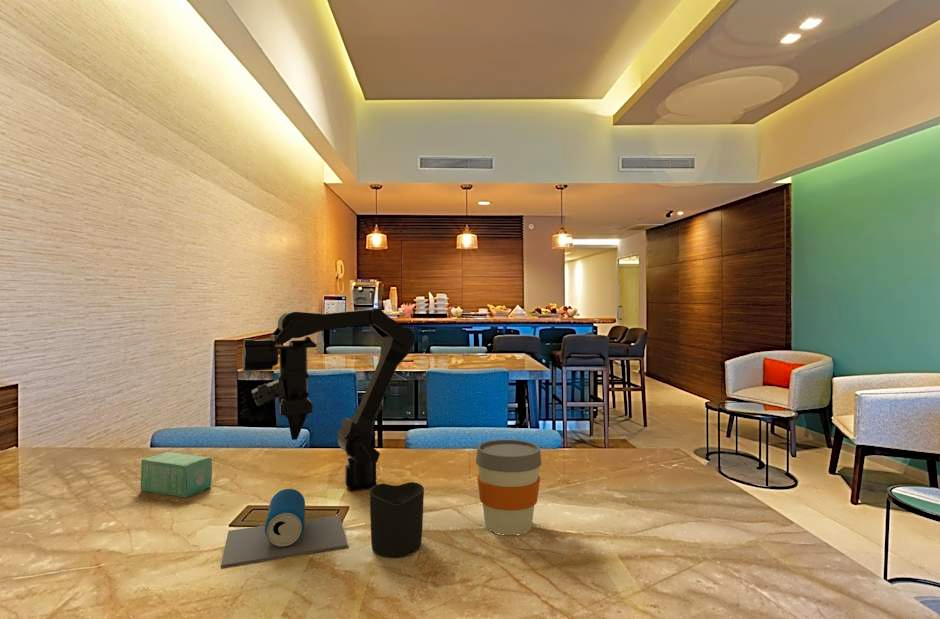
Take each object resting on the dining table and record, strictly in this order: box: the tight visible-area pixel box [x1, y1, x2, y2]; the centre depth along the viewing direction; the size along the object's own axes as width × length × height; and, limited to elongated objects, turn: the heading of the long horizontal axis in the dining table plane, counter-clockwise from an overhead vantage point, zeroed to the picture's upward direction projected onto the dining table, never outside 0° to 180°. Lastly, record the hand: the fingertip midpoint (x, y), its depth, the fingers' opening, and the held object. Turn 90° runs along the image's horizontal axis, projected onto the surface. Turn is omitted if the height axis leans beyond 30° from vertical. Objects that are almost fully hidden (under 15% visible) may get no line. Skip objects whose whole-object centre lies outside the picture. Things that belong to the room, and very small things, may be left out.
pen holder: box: [369, 481, 425, 559], centre depth 88 cm, size 9×9×10 cm
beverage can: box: [264, 488, 306, 546], centre depth 92 cm, size 6×6×12 cm
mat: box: [220, 514, 349, 568], centre depth 90 cm, size 20×14×1 cm
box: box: [140, 451, 213, 499], centre depth 115 cm, size 7×14×8 cm, turn 73°
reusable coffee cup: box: [475, 439, 542, 536], centre depth 97 cm, size 12×13×15 cm
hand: (294, 439), depth 111 cm, fingers closed
